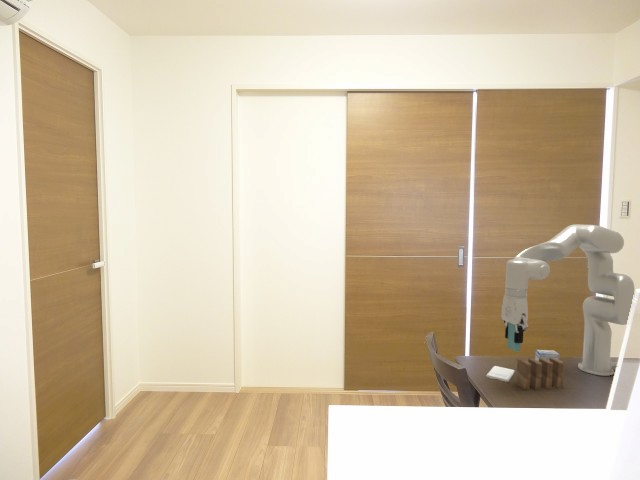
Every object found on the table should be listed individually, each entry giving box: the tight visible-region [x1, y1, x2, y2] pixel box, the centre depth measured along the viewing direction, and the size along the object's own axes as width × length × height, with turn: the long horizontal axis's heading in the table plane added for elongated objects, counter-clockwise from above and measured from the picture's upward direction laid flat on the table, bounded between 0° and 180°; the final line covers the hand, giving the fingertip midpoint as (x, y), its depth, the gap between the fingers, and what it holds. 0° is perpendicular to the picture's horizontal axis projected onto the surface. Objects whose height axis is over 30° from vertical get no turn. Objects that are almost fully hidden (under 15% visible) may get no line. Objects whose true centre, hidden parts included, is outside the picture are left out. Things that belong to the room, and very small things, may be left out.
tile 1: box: [550, 358, 564, 389], centre depth 156 cm, size 2×5×10 cm, turn 7°
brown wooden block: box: [527, 358, 542, 390], centre depth 155 cm, size 2×5×10 cm, turn 7°
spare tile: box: [506, 322, 521, 352], centre depth 152 cm, size 2×5×10 cm, turn 7°
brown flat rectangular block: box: [539, 358, 553, 390], centre depth 155 cm, size 2×5×10 cm, turn 8°
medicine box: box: [534, 349, 561, 362], centre depth 170 cm, size 8×4×9 cm, turn 84°
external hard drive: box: [486, 365, 516, 383], centre depth 166 cm, size 2×8×12 cm
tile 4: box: [516, 358, 531, 391], centre depth 154 cm, size 2×5×10 cm, turn 7°
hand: (513, 340), depth 153 cm, fingers closed on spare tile, 4 cm apart
